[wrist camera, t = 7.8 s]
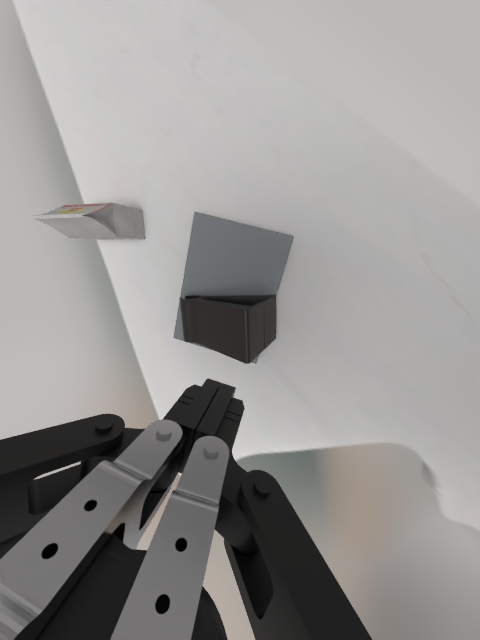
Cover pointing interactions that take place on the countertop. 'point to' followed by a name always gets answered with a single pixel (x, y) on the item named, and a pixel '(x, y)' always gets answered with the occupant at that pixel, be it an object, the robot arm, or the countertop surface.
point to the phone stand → (230, 323)
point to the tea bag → (96, 221)
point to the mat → (231, 261)
